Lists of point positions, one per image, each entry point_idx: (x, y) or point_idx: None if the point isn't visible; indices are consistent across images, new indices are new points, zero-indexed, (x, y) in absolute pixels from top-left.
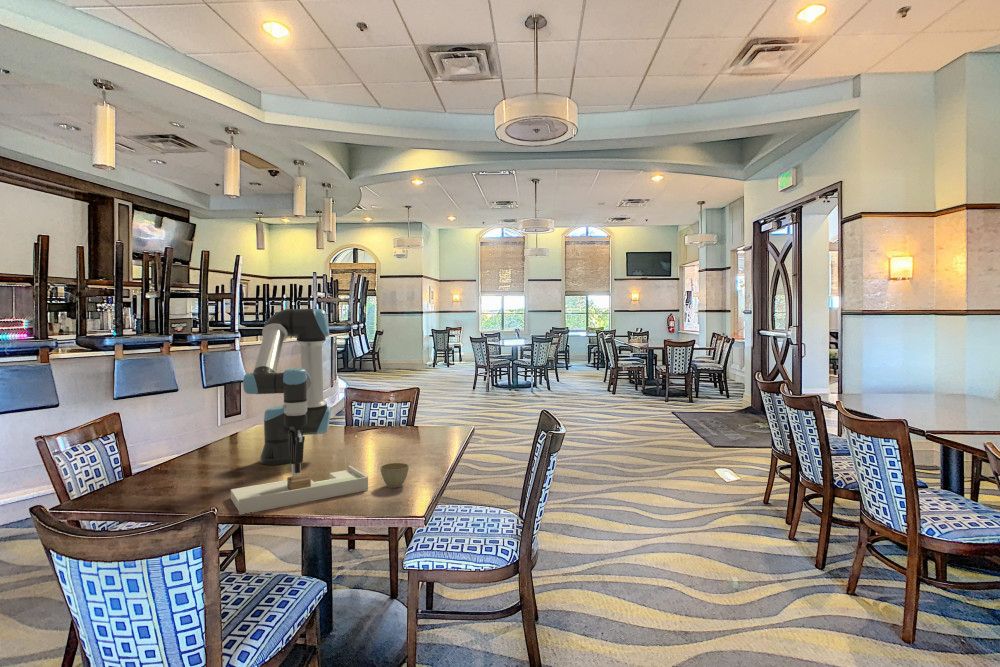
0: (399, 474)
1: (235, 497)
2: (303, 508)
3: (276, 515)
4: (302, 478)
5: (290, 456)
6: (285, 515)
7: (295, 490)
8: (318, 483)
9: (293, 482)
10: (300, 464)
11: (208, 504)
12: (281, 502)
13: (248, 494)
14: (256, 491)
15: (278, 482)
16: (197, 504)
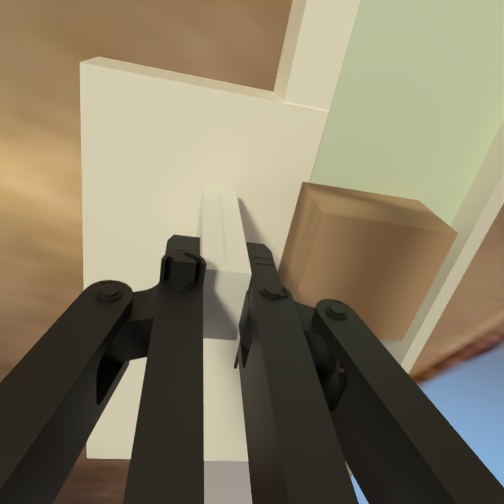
0: None
1: (221, 458)
2: (486, 267)
3: (449, 359)
4: (395, 270)
5: (122, 376)
6: (481, 340)
7: (440, 314)
8: (349, 94)
9: (404, 330)
10: (248, 265)
11: (125, 472)
12: None
13: (230, 428)
14: (209, 399)
15: None
16: (99, 490)
